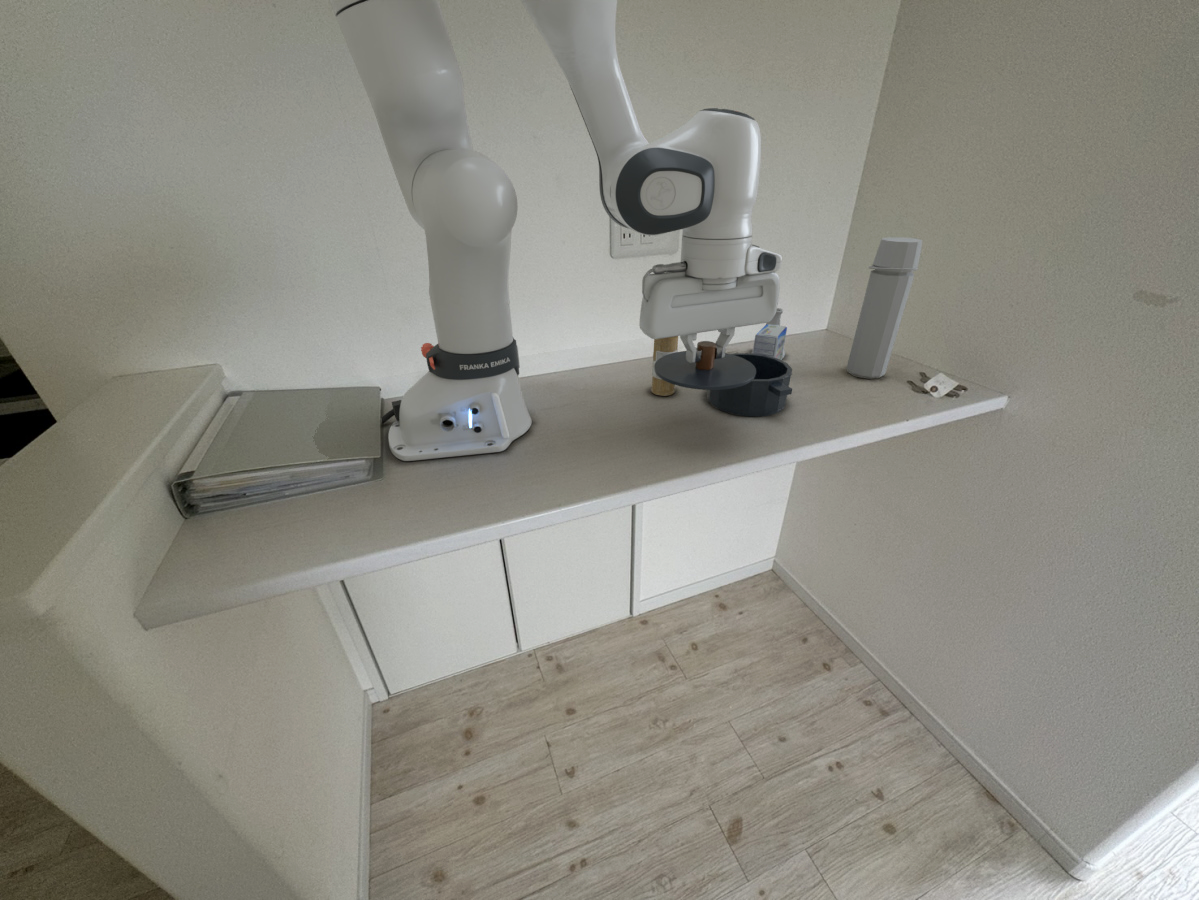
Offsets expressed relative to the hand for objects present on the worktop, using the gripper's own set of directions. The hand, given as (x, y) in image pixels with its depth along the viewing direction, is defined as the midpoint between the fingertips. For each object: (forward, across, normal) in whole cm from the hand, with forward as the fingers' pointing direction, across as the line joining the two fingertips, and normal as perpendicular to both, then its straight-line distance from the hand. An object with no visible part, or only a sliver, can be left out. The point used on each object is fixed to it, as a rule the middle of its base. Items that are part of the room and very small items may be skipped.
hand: (705, 359), depth 72 cm
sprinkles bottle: (+13, +3, +17) cm, 21 cm away
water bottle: (+13, +45, +10) cm, 48 cm away
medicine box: (+13, +27, +18) cm, 35 cm away
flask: (+13, +34, +26) cm, 45 cm away
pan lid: (+2, 0, 0) cm, 2 cm away
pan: (+13, +15, +8) cm, 21 cm away
